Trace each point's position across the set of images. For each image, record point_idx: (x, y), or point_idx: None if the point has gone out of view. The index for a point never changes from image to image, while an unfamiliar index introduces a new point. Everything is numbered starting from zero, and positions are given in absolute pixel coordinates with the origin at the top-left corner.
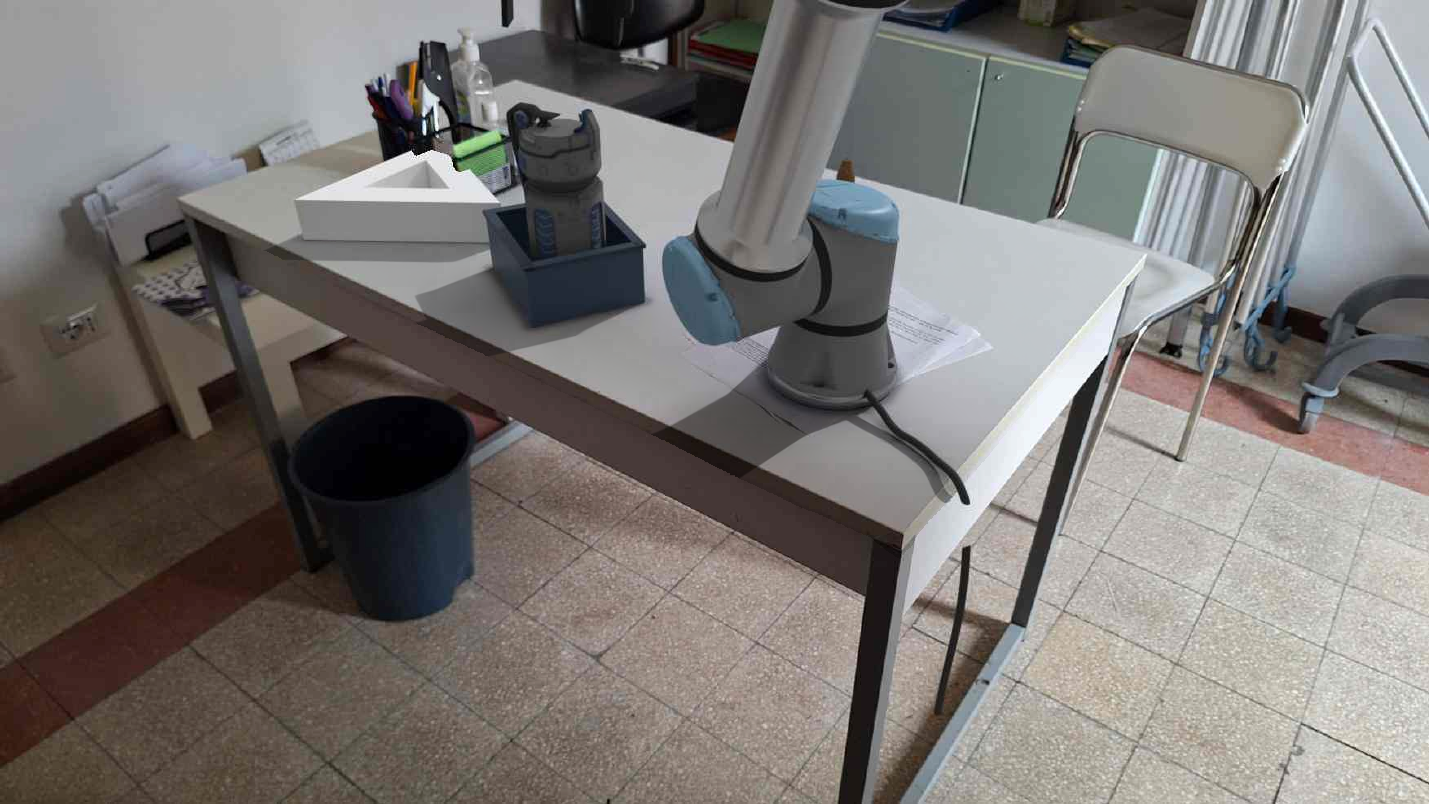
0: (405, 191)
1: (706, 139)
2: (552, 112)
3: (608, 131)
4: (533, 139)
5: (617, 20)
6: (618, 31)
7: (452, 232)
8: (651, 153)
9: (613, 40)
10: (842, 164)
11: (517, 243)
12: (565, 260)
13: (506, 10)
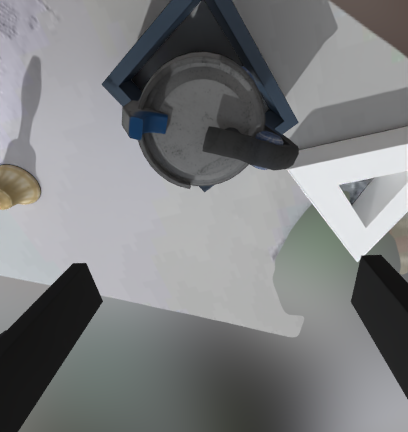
0: (379, 170)
1: (187, 313)
2: (215, 148)
3: (248, 310)
4: (230, 77)
5: (28, 316)
6: (48, 290)
7: (322, 148)
8: (213, 293)
9: (77, 272)
10: None
11: (239, 42)
12: (167, 5)
13: (396, 293)
